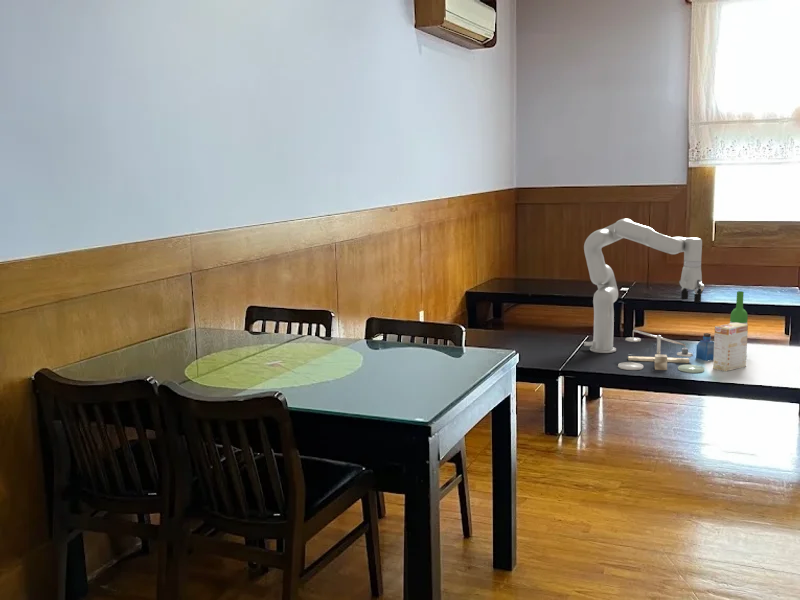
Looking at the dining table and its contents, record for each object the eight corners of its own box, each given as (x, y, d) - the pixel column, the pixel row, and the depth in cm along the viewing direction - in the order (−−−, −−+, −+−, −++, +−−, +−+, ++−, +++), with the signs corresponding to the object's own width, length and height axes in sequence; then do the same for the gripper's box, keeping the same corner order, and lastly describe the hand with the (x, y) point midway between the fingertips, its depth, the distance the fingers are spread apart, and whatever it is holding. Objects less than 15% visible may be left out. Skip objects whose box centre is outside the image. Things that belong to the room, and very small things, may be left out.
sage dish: (679, 372, 353) (679, 370, 353) (677, 366, 364) (677, 364, 363) (705, 373, 350) (705, 371, 350) (702, 367, 361) (702, 365, 361)
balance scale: (625, 361, 375) (625, 330, 372) (624, 357, 381) (625, 327, 379) (693, 363, 368) (694, 332, 365) (691, 360, 374) (692, 329, 372)
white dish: (618, 369, 359) (618, 367, 359) (617, 363, 370) (617, 361, 370) (643, 370, 357) (644, 368, 356) (642, 364, 367) (642, 362, 367)
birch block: (655, 369, 358) (655, 356, 357) (654, 367, 363) (654, 354, 362) (666, 370, 357) (667, 357, 356) (666, 367, 362) (666, 354, 361)
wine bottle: (742, 351, 391) (746, 290, 386) (748, 354, 383) (751, 292, 378) (726, 351, 392) (729, 290, 387) (731, 354, 384) (734, 292, 379)
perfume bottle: (705, 356, 381) (706, 332, 379) (715, 359, 375) (717, 334, 374) (696, 358, 378) (697, 333, 376) (706, 360, 373) (707, 335, 371)
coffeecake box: (732, 363, 367) (734, 322, 363) (746, 366, 361) (749, 324, 358) (711, 368, 359) (714, 325, 356) (725, 371, 353) (728, 328, 350)
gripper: (674, 262, 378) (672, 298, 381) (697, 266, 362) (695, 304, 364) (687, 262, 380) (686, 297, 383) (711, 266, 364) (709, 303, 366)
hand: (690, 300), depth 374 cm, fingers open, 9 cm apart
